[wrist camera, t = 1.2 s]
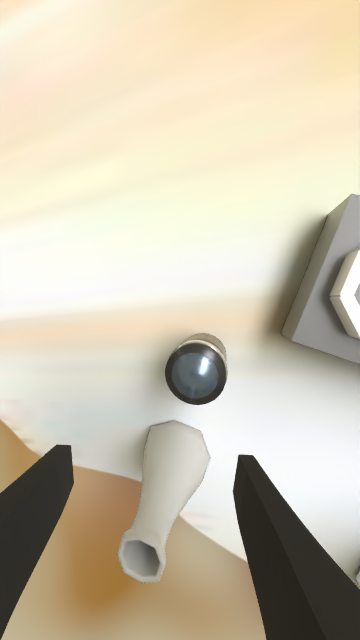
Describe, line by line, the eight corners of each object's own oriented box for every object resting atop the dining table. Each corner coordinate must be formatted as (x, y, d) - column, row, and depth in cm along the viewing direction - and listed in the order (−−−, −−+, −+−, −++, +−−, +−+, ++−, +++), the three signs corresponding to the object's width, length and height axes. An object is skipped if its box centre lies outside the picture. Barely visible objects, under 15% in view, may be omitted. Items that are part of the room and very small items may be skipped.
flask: (146, 478, 24) (92, 597, 14) (143, 416, 24) (85, 496, 14) (211, 488, 23) (199, 629, 13) (210, 422, 22) (196, 517, 12)
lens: (234, 342, 21) (236, 357, 15) (217, 385, 22) (214, 417, 16) (188, 325, 22) (174, 334, 16) (174, 368, 22) (155, 392, 16)
